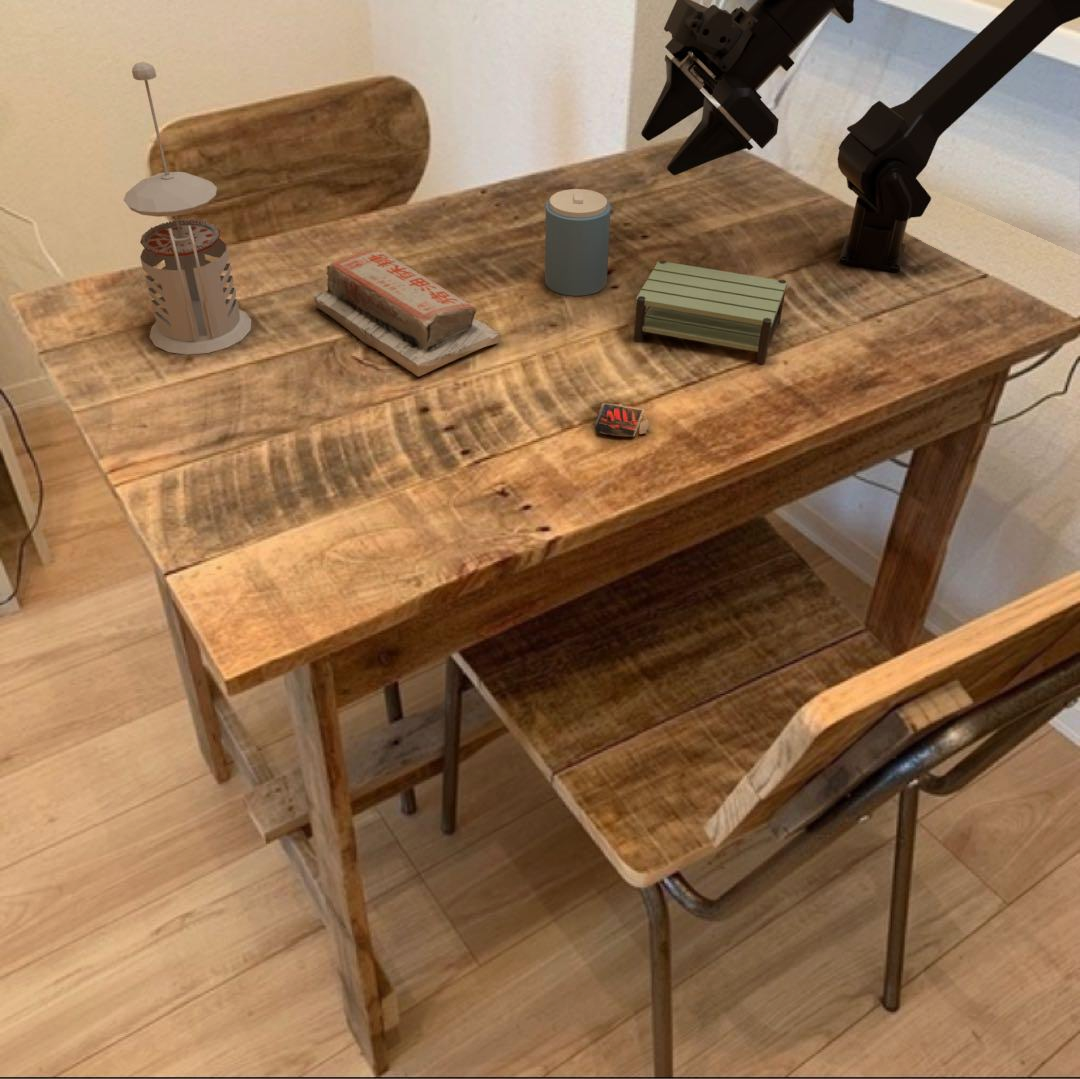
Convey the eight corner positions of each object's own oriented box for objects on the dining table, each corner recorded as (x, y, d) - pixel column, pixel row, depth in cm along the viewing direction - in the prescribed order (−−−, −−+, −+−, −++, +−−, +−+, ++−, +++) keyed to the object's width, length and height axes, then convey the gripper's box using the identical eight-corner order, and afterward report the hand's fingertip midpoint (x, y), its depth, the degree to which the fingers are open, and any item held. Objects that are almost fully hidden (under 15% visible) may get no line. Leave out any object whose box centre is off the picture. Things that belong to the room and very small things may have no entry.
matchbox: (595, 438, 92) (596, 433, 91) (593, 404, 95) (594, 400, 95) (650, 438, 92) (650, 434, 91) (646, 405, 95) (646, 401, 95)
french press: (243, 297, 110) (194, 40, 94) (262, 353, 102) (212, 81, 86) (144, 313, 107) (76, 51, 91) (156, 371, 99) (83, 94, 83)
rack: (655, 299, 111) (658, 259, 108) (780, 321, 107) (788, 280, 104) (632, 341, 104) (635, 299, 101) (764, 365, 101) (772, 323, 98)
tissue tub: (556, 263, 117) (557, 179, 111) (614, 272, 115) (619, 188, 109) (536, 290, 112) (536, 204, 106) (596, 300, 110) (600, 214, 104)
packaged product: (305, 264, 105) (388, 236, 110) (312, 308, 109) (392, 279, 114) (414, 334, 95) (500, 299, 100) (418, 380, 98) (501, 344, 103)
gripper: (691, -60, 103) (579, 70, 108) (759, -11, 89) (626, 135, 95) (760, 21, 109) (651, 140, 115) (834, 79, 95) (705, 211, 101)
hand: (656, 154), depth 106 cm, fingers open, 9 cm apart
